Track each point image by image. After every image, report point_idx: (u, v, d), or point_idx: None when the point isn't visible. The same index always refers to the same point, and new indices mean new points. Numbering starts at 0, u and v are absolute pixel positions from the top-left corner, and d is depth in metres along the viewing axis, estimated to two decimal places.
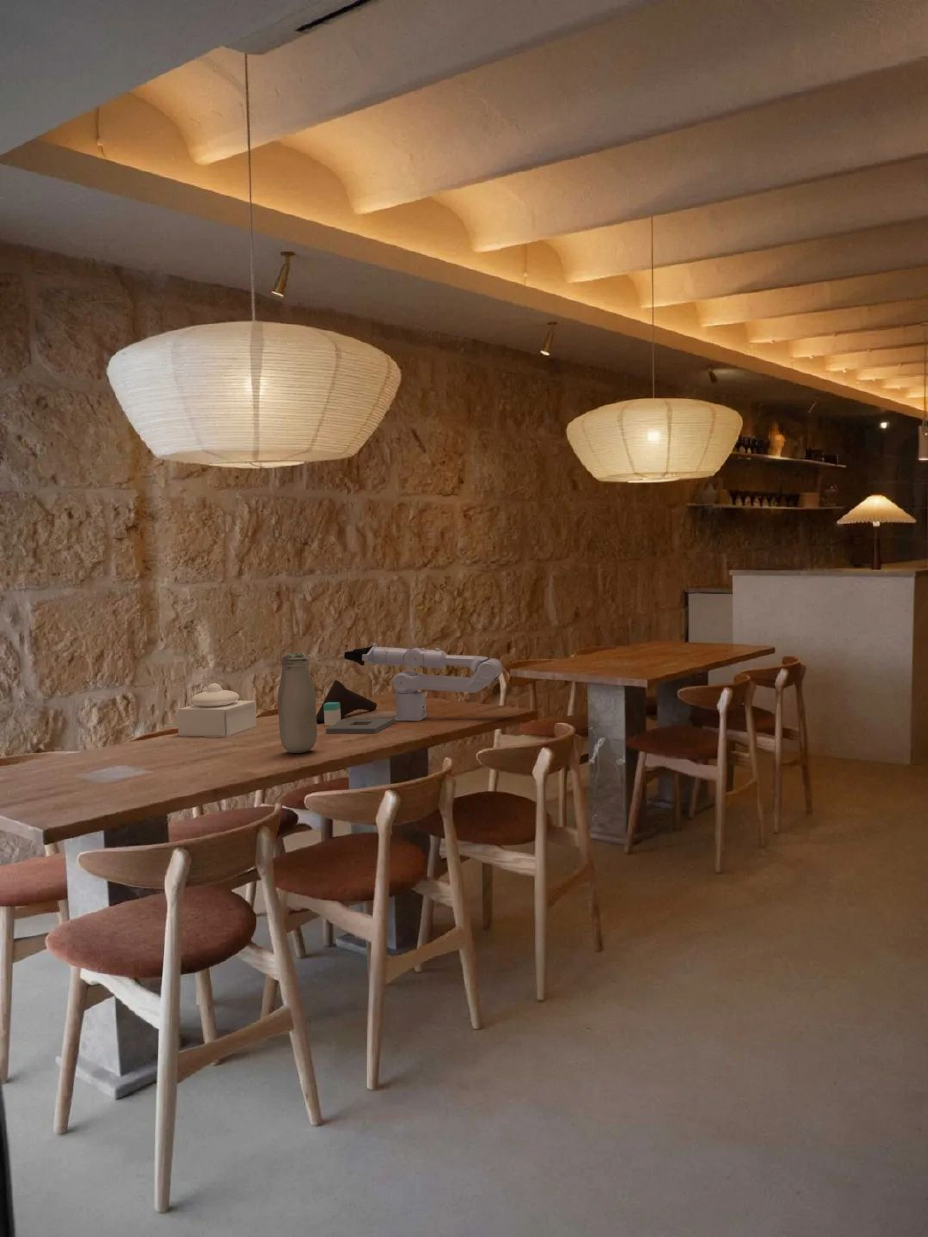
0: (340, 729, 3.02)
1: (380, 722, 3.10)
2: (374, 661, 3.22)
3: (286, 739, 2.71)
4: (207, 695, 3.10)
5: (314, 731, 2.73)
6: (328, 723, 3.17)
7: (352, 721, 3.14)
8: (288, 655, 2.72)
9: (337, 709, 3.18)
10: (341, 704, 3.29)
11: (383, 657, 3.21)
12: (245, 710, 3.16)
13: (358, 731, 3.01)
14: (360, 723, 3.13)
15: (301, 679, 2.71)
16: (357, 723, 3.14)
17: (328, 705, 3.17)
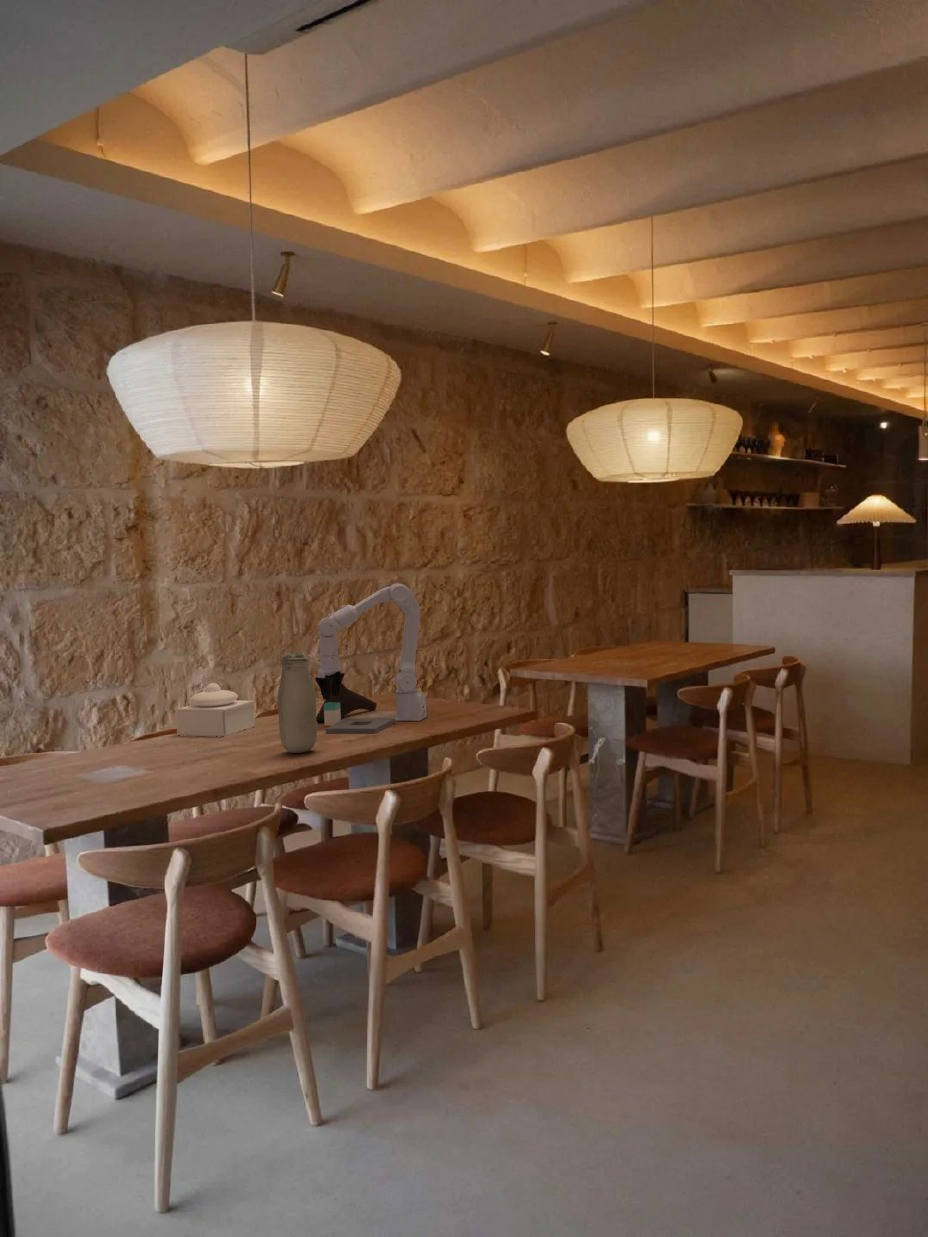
0: (340, 729, 3.02)
1: (380, 722, 3.10)
2: (331, 668, 3.15)
3: (286, 739, 2.71)
4: (206, 695, 3.11)
5: (314, 731, 2.73)
6: (328, 723, 3.17)
7: (352, 721, 3.14)
8: (288, 655, 2.72)
9: (337, 709, 3.18)
10: (342, 704, 3.30)
11: (325, 658, 3.15)
12: (244, 710, 3.16)
13: (358, 731, 3.01)
14: (360, 723, 3.13)
15: (301, 679, 2.71)
16: (357, 723, 3.14)
17: (328, 705, 3.17)
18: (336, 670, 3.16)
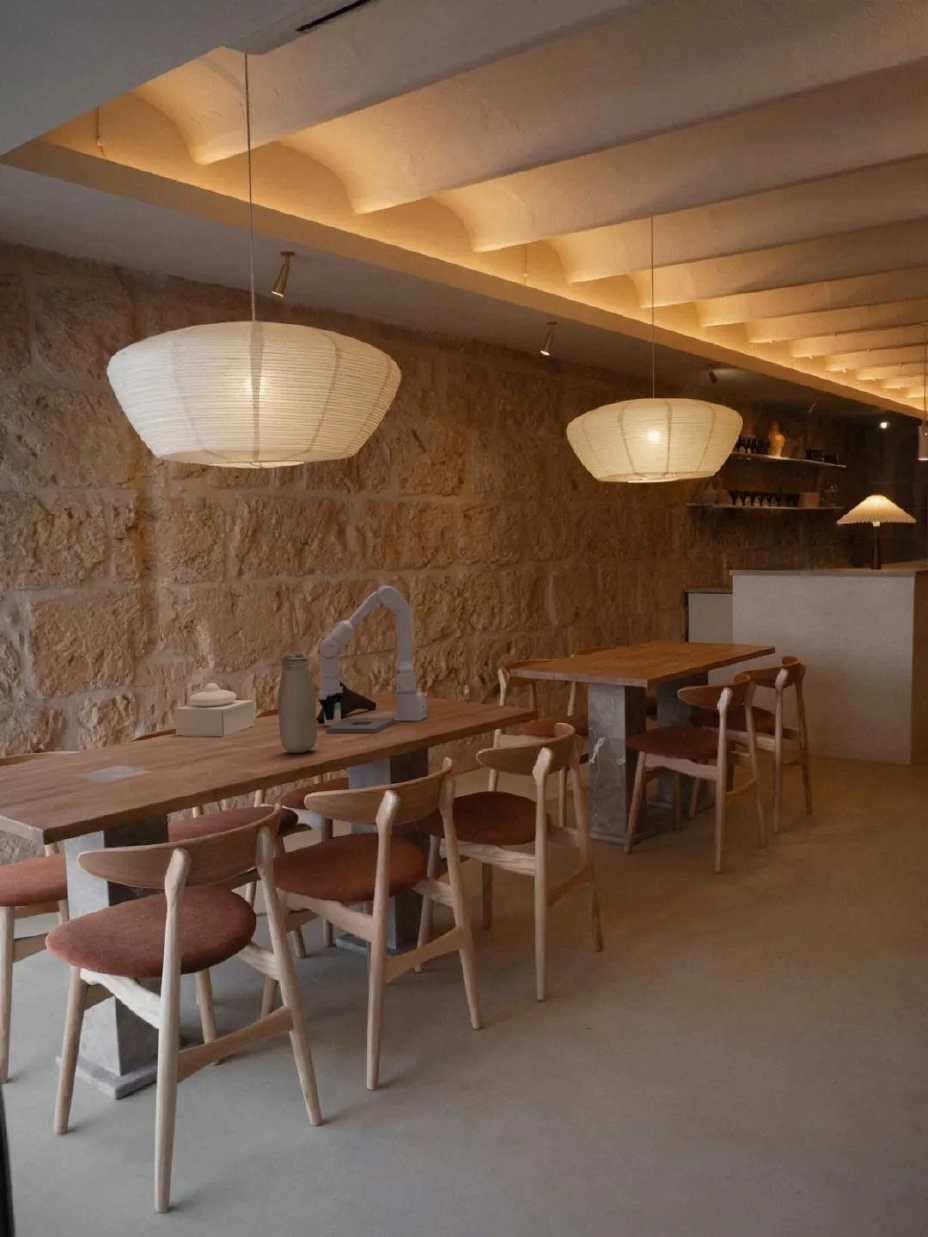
0: (340, 729, 3.02)
1: (380, 722, 3.10)
2: (333, 689, 3.16)
3: (286, 739, 2.71)
4: (205, 695, 3.11)
5: (314, 731, 2.73)
6: (328, 723, 3.17)
7: (352, 721, 3.14)
8: (288, 655, 2.72)
9: (337, 709, 3.18)
10: (342, 704, 3.30)
11: (327, 679, 3.15)
12: (243, 710, 3.17)
13: (358, 731, 3.01)
14: (360, 723, 3.13)
15: (301, 679, 2.71)
16: (357, 723, 3.14)
17: None
18: (337, 691, 3.17)
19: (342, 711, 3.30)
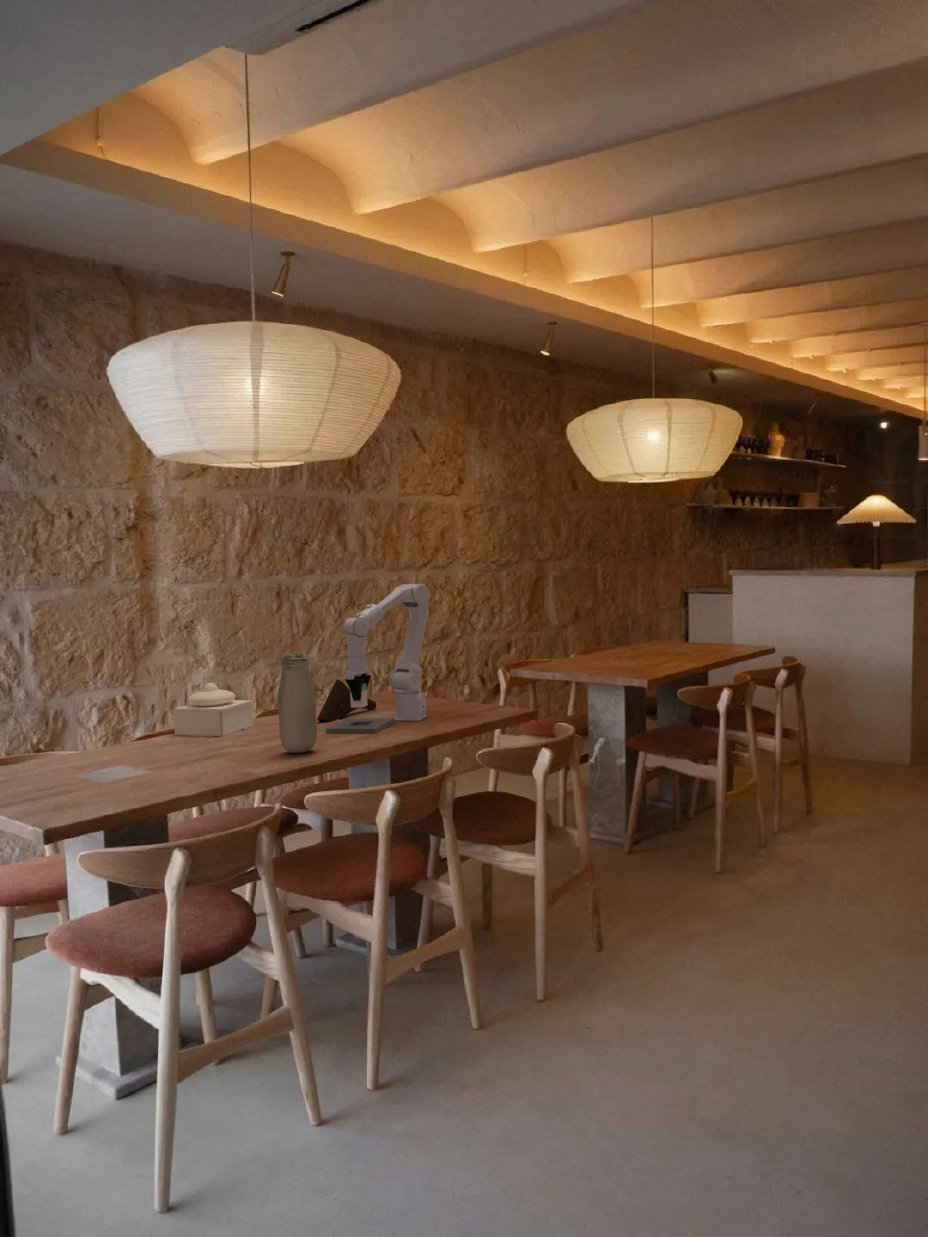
0: (340, 729, 3.02)
1: (380, 722, 3.10)
2: (360, 669, 3.06)
3: (286, 739, 2.71)
4: (203, 695, 3.12)
5: (314, 731, 2.73)
6: (354, 704, 3.08)
7: (352, 721, 3.14)
8: (288, 655, 2.72)
9: (363, 690, 3.09)
10: (343, 703, 3.31)
11: (354, 659, 3.06)
12: (241, 710, 3.17)
13: (358, 731, 3.01)
14: (360, 723, 3.13)
15: (301, 679, 2.71)
16: (357, 723, 3.14)
17: None
18: (365, 671, 3.07)
19: (343, 711, 3.30)
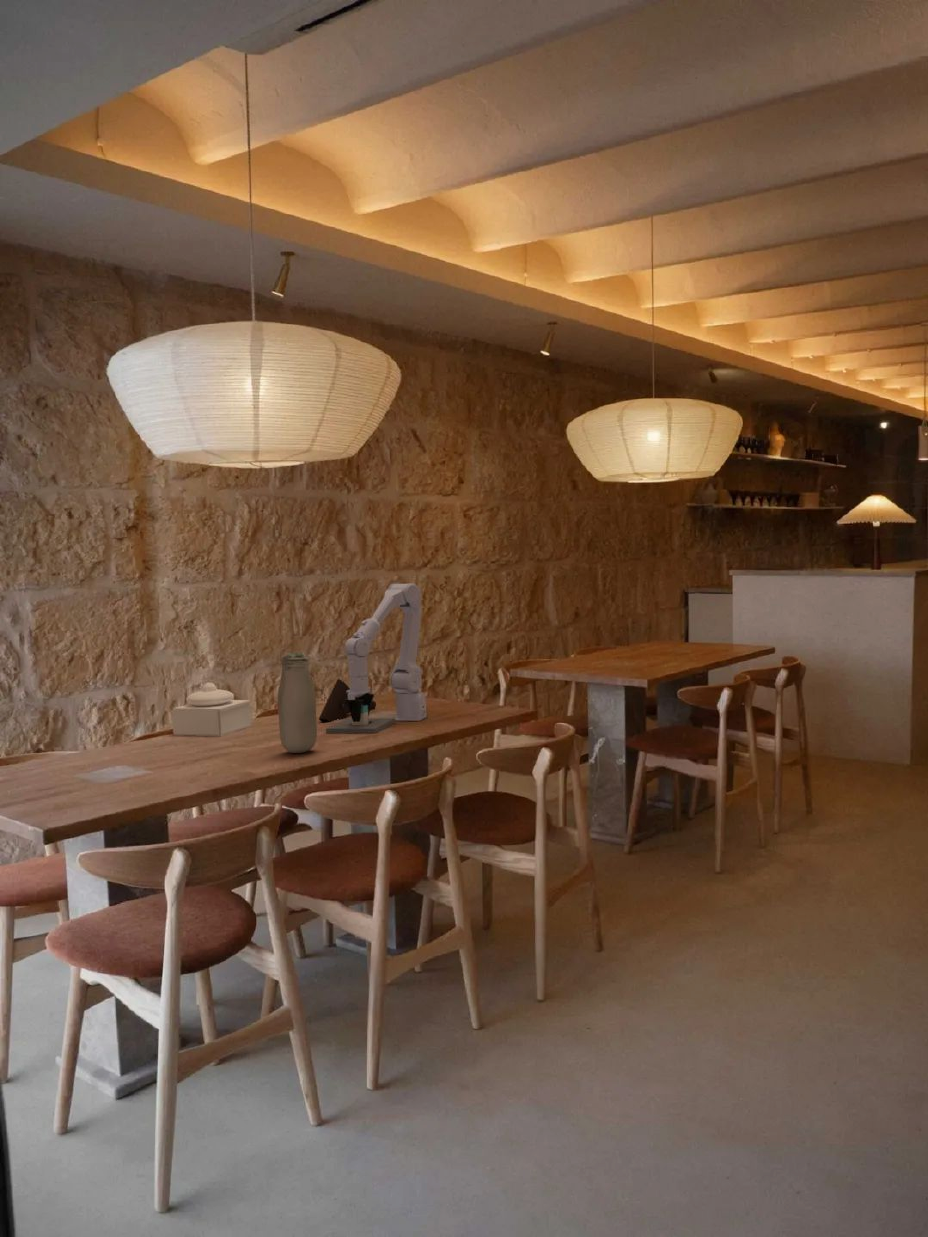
0: (340, 729, 3.02)
1: (380, 722, 3.10)
2: (361, 689, 3.07)
3: (286, 739, 2.71)
4: (202, 694, 3.12)
5: (314, 731, 2.73)
6: None
7: None
8: (288, 655, 2.72)
9: (365, 712, 3.09)
10: (344, 703, 3.31)
11: (355, 679, 3.06)
12: (240, 709, 3.18)
13: (358, 731, 3.01)
14: None
15: (301, 679, 2.71)
16: None
17: None
18: (366, 691, 3.08)
19: (344, 710, 3.31)
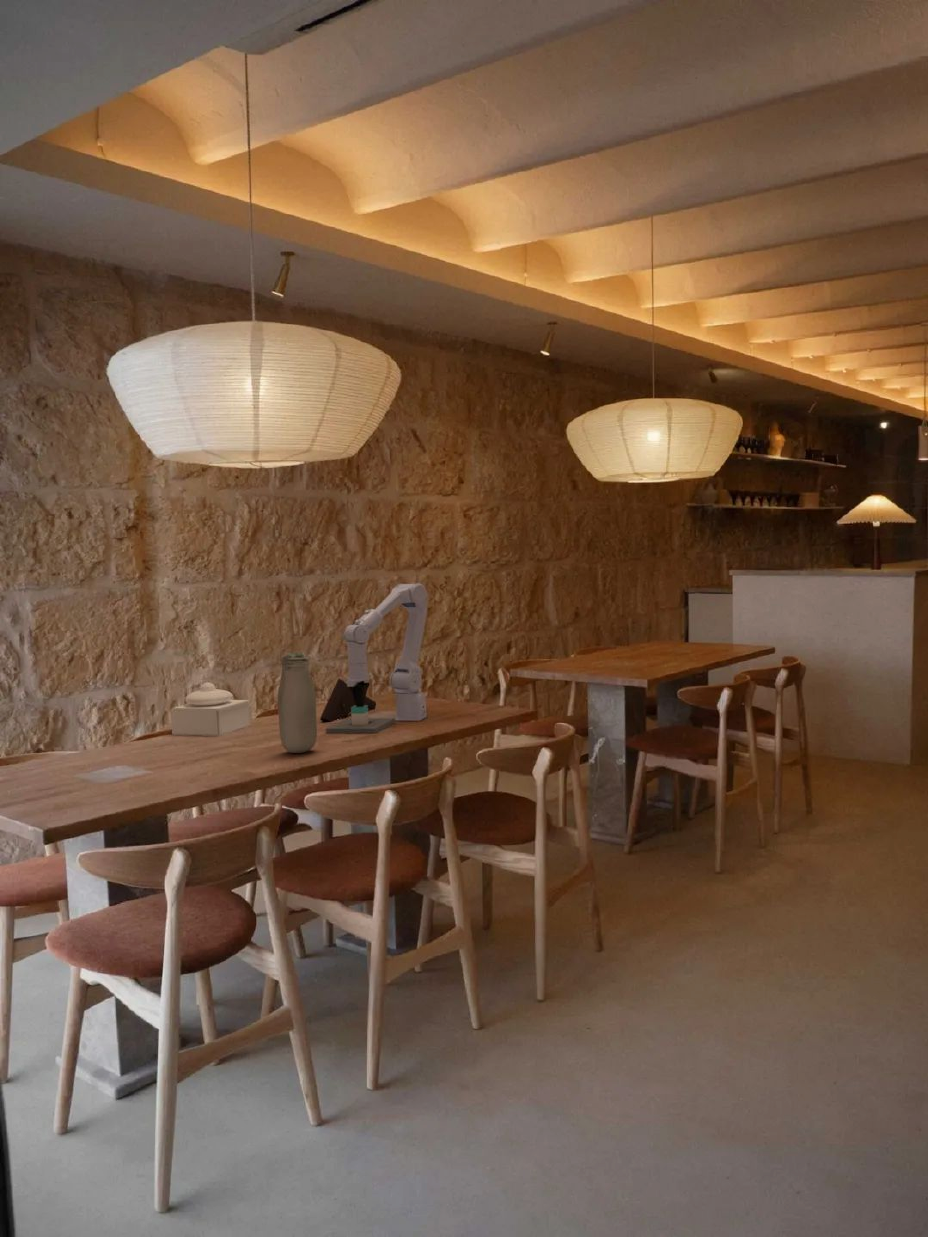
0: (340, 729, 3.02)
1: (380, 722, 3.10)
2: (360, 676, 3.07)
3: (286, 739, 2.71)
4: (200, 694, 3.13)
5: (314, 731, 2.73)
6: None
7: None
8: (288, 655, 2.72)
9: (365, 712, 3.09)
10: (345, 703, 3.32)
11: (354, 666, 3.06)
12: (238, 709, 3.18)
13: (358, 731, 3.01)
14: None
15: (301, 679, 2.71)
16: None
17: (356, 708, 3.08)
18: (365, 678, 3.07)
19: (345, 710, 3.32)
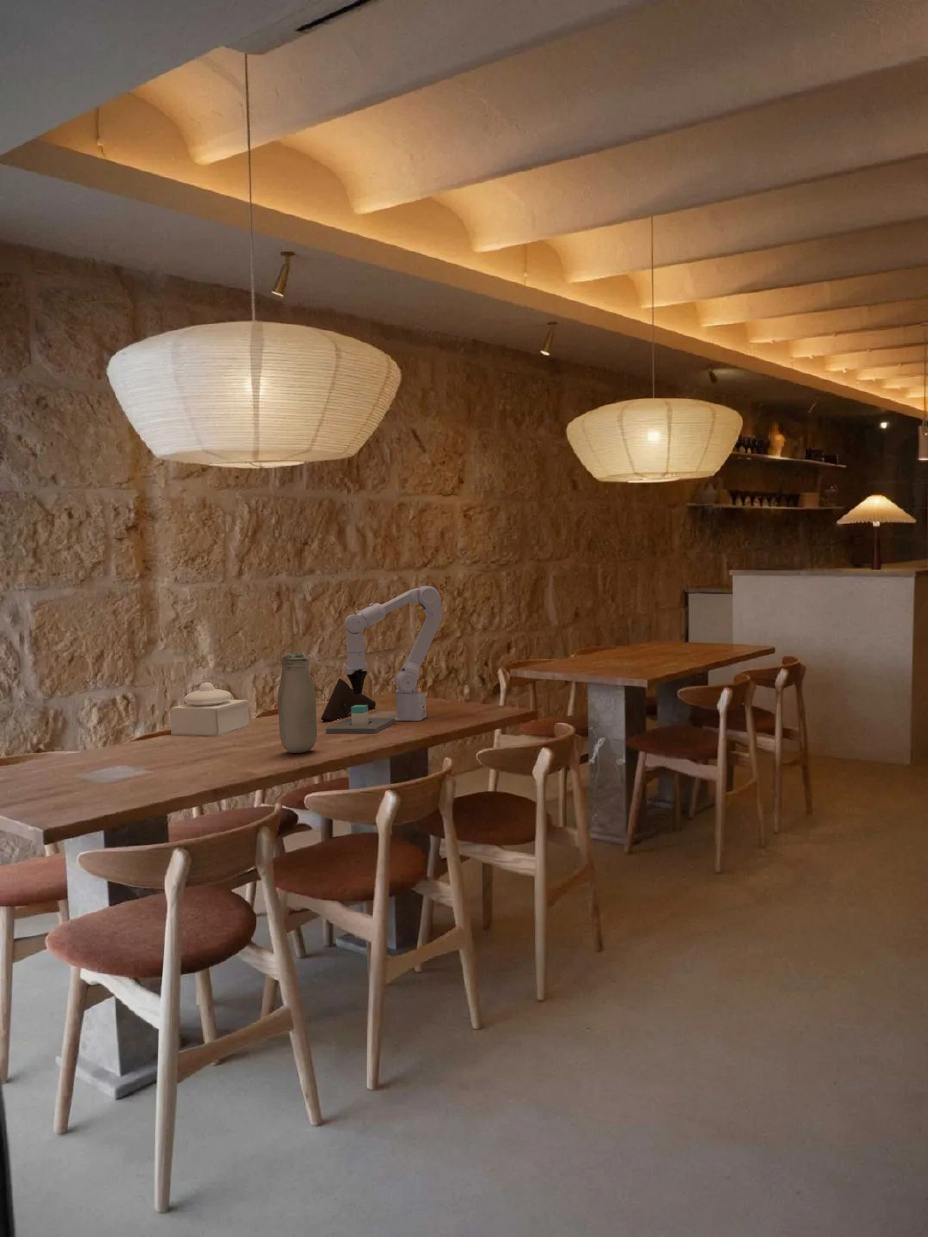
0: (340, 729, 3.02)
1: (380, 722, 3.10)
2: (358, 664, 3.16)
3: (286, 739, 2.71)
4: (199, 694, 3.13)
5: (314, 731, 2.73)
6: None
7: None
8: (288, 655, 2.72)
9: (365, 712, 3.09)
10: (346, 702, 3.32)
11: (352, 654, 3.16)
12: (237, 709, 3.19)
13: (358, 731, 3.01)
14: None
15: (301, 679, 2.71)
16: None
17: (356, 708, 3.08)
18: (363, 667, 3.17)
19: (345, 710, 3.32)
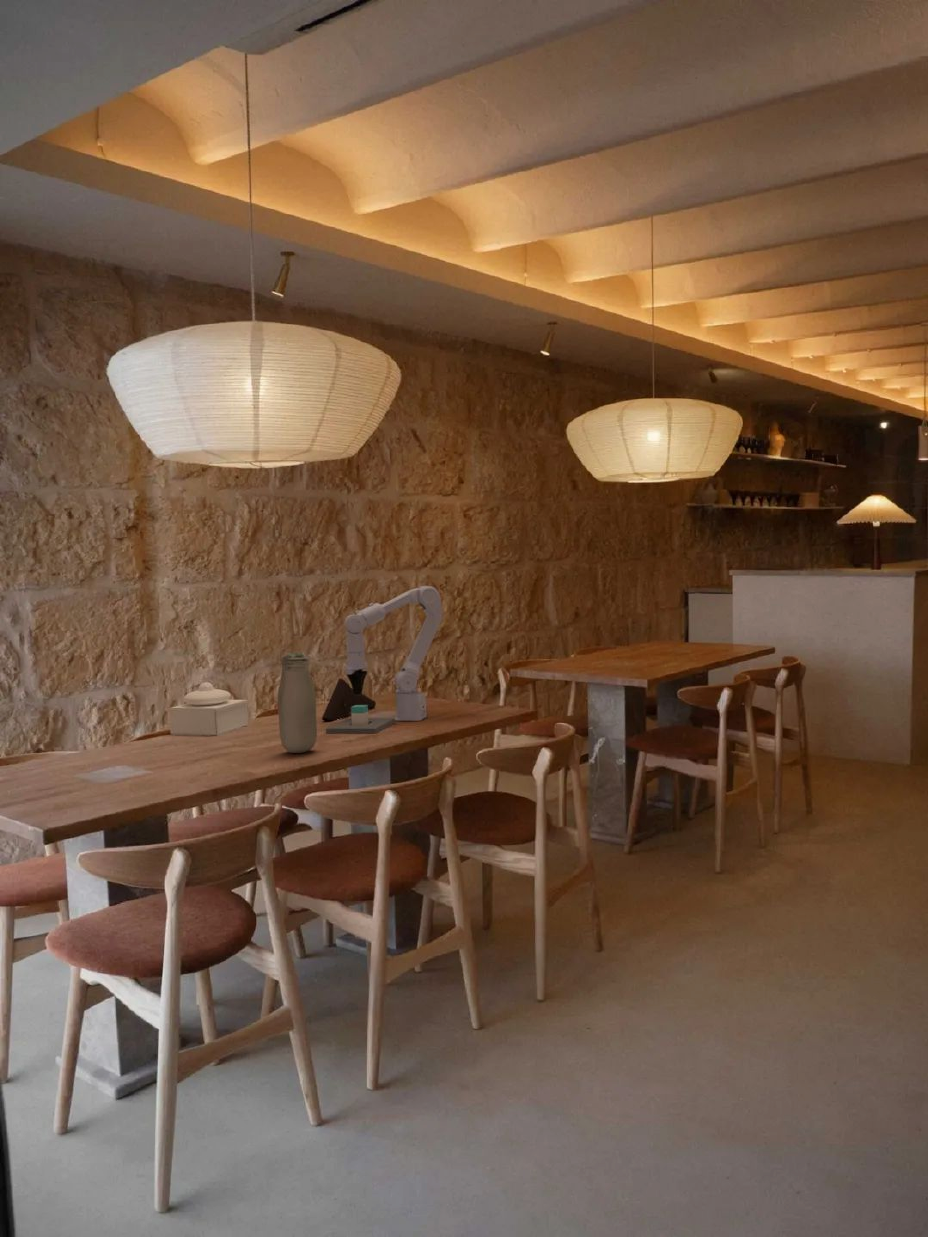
0: (340, 729, 3.02)
1: (380, 722, 3.10)
2: (358, 664, 3.16)
3: (286, 739, 2.71)
4: (198, 694, 3.14)
5: (314, 731, 2.73)
6: None
7: None
8: (288, 655, 2.72)
9: (365, 712, 3.09)
10: (346, 702, 3.33)
11: (352, 654, 3.16)
12: (236, 709, 3.19)
13: (358, 731, 3.01)
14: None
15: (301, 679, 2.71)
16: None
17: (356, 708, 3.08)
18: (363, 667, 3.17)
19: (346, 710, 3.32)
